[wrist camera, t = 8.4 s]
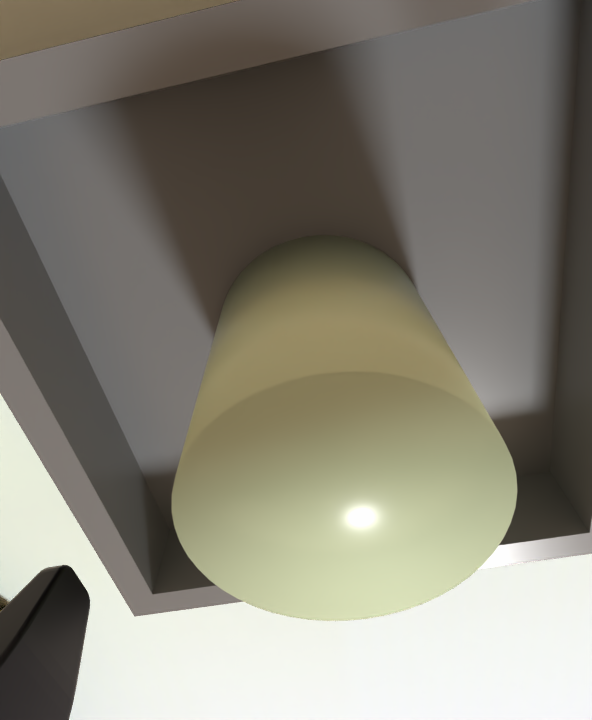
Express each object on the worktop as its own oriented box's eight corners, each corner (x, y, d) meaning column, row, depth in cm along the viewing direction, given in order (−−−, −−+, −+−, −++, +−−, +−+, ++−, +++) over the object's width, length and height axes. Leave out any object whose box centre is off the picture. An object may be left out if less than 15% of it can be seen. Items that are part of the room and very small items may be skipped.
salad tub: (414, 214, 13) (521, 338, 7) (429, 399, 16) (514, 599, 10) (193, 258, 14) (118, 409, 8) (247, 430, 17) (223, 637, 11)
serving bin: (615, -72, 11) (740, -126, 8) (566, 472, 19) (619, 549, 16) (-61, 94, 12) (-174, 103, 9) (157, 534, 20) (134, 616, 17)
